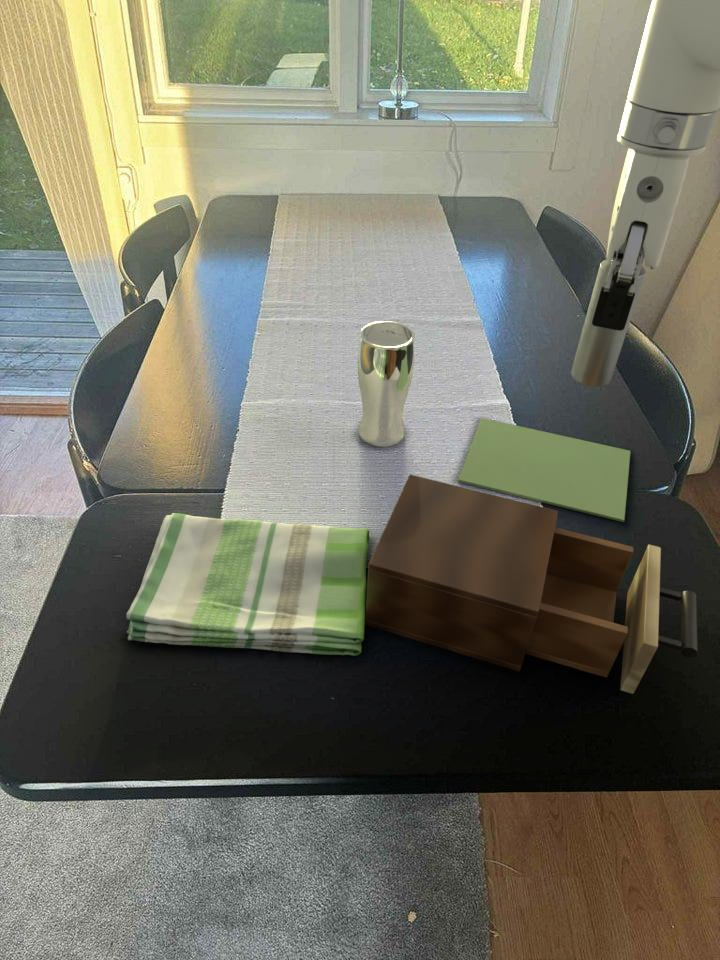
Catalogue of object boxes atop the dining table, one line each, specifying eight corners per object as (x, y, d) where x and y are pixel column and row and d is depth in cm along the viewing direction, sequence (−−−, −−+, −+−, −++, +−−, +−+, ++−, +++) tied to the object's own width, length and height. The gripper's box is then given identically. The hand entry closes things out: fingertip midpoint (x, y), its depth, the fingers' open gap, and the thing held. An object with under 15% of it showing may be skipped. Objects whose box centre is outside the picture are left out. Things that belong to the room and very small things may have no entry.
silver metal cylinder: (612, 370, 79) (646, 262, 71) (609, 390, 76) (645, 280, 68) (573, 362, 80) (602, 255, 72) (568, 381, 77) (598, 272, 69)
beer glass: (417, 433, 94) (428, 334, 84) (383, 456, 90) (389, 355, 81) (379, 411, 98) (385, 314, 88) (344, 432, 94) (346, 333, 84)
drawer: (680, 606, 72) (705, 558, 67) (680, 708, 63) (709, 661, 58) (501, 558, 76) (513, 510, 71) (477, 648, 67) (489, 599, 63)
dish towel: (169, 523, 80) (164, 500, 78) (369, 533, 80) (370, 511, 77) (124, 648, 67) (117, 625, 65) (363, 661, 67) (364, 639, 65)
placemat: (629, 453, 93) (630, 450, 92) (623, 522, 82) (624, 520, 82) (481, 420, 97) (481, 417, 97) (458, 482, 87) (458, 479, 87)
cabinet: (540, 570, 76) (558, 510, 70) (519, 671, 67) (538, 611, 61) (403, 534, 80) (409, 473, 74) (364, 625, 70) (368, 563, 64)
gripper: (714, 159, 54) (643, 362, 66) (707, 108, 66) (648, 288, 78) (614, 147, 56) (563, 347, 68) (626, 99, 68) (580, 276, 80)
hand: (609, 313), depth 73 cm, fingers closed on silver metal cylinder, 4 cm apart
